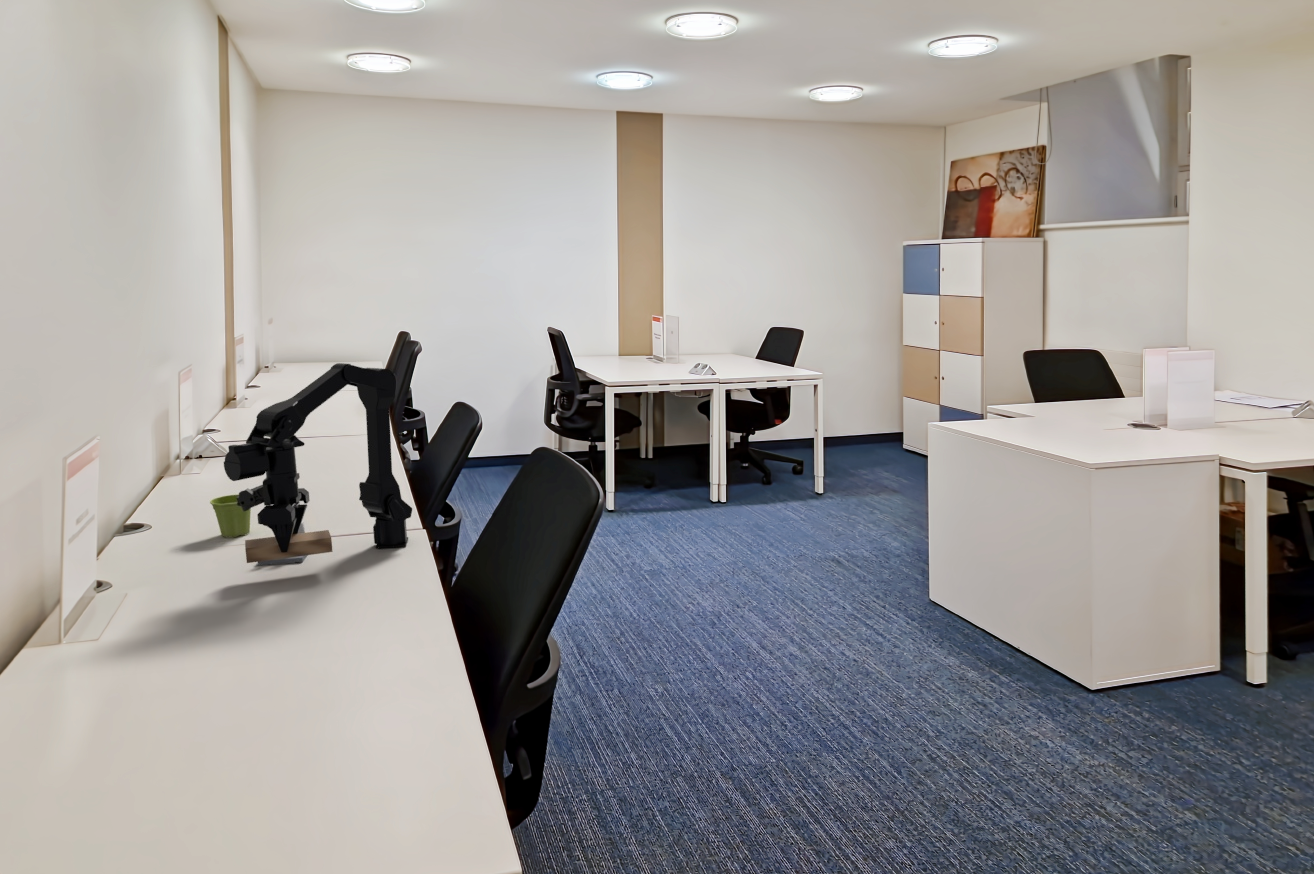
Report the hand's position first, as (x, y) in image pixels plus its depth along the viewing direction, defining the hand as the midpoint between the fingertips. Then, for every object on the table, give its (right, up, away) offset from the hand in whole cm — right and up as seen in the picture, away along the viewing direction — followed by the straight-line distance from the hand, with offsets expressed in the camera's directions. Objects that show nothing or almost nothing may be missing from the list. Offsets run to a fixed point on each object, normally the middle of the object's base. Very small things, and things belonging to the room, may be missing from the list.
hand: (288, 546), depth 191 cm
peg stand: (-7, -3, +17) cm, 19 cm away
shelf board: (0, -1, 0) cm, 1 cm away
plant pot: (-25, -1, +33) cm, 42 cm away
